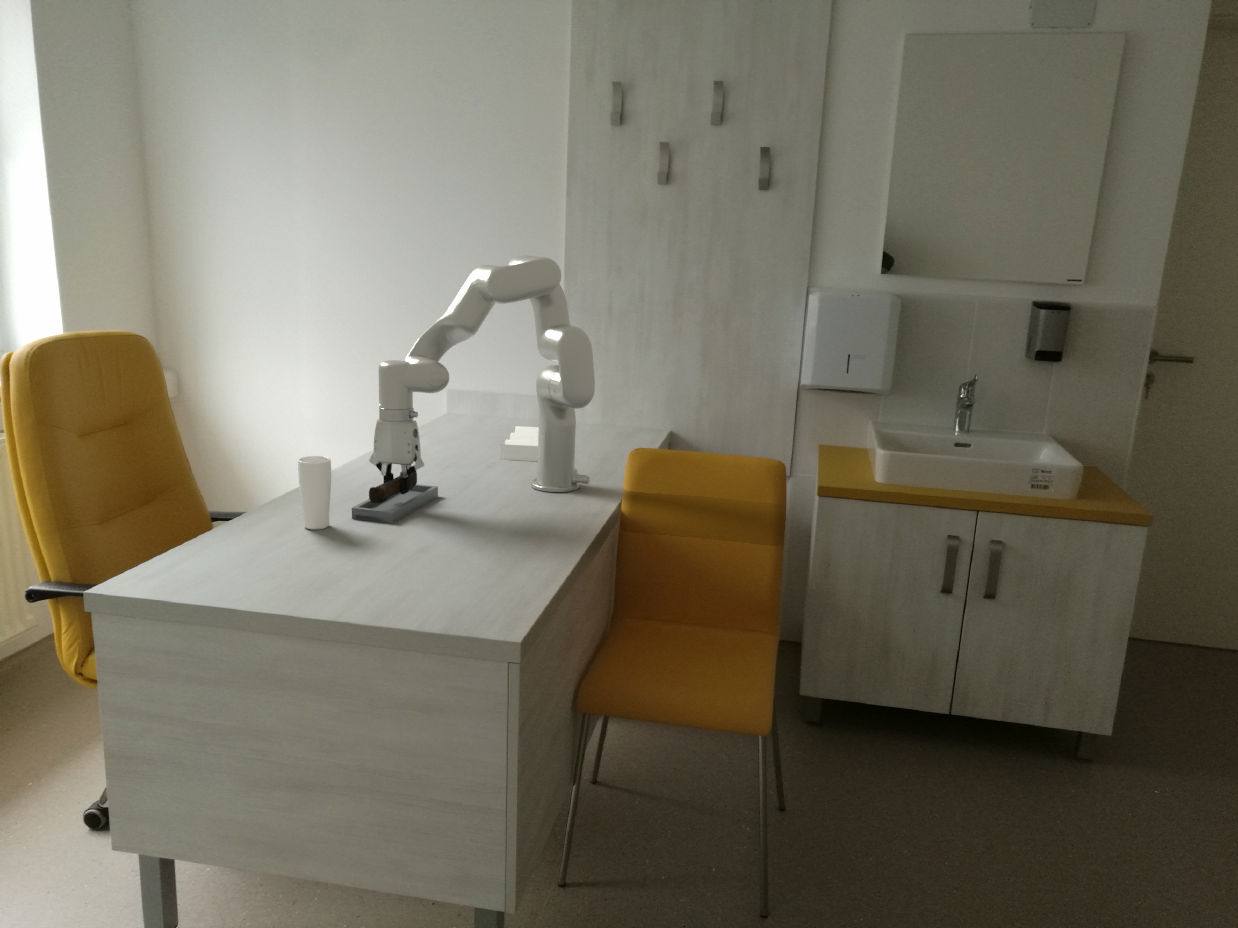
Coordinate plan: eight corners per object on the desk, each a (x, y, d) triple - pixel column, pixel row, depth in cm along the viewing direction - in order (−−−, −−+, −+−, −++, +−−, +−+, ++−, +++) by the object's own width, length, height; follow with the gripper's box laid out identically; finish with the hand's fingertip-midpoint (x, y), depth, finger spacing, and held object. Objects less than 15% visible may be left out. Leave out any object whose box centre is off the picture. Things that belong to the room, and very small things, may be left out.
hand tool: (383, 505, 210) (383, 485, 208) (368, 502, 211) (367, 483, 210) (426, 485, 227) (426, 467, 226) (412, 483, 228) (412, 465, 227)
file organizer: (557, 438, 304) (558, 423, 303) (545, 463, 270) (545, 446, 269) (517, 436, 305) (517, 421, 304) (500, 461, 271) (500, 444, 270)
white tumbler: (303, 532, 198) (300, 464, 195) (297, 523, 204) (295, 457, 201) (335, 529, 201) (333, 461, 198) (329, 520, 207) (327, 454, 204)
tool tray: (437, 496, 230) (437, 486, 230) (393, 523, 207) (392, 512, 207) (400, 492, 232) (400, 482, 232) (351, 518, 210) (351, 507, 209)
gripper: (436, 415, 216) (436, 491, 221) (371, 409, 220) (372, 484, 224) (422, 420, 209) (422, 499, 214) (355, 414, 213) (357, 492, 217)
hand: (397, 491), depth 219 cm, fingers closed on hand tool, 3 cm apart
